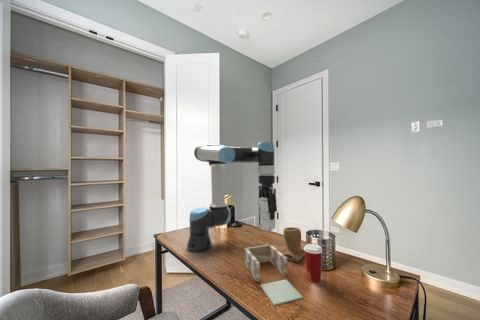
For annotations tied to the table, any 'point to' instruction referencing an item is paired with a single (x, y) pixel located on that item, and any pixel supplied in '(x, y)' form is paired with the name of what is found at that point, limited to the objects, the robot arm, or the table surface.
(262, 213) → the syrup box
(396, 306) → the table surface
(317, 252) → the paper cup
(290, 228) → the brown boot
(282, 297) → the mat
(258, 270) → the cubby
